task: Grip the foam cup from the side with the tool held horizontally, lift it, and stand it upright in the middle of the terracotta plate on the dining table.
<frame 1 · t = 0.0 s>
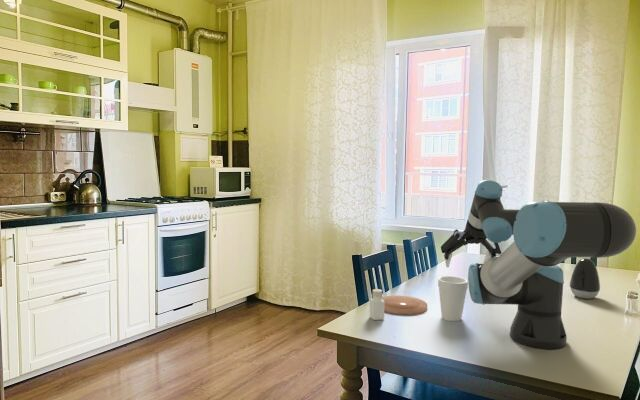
hand: (466, 264, 165), 15 cm above the table, tool tilted 35°, fingers open, 13 cm apart
foam cup: (451, 318, 155), on the table
dark grey egg shape: (583, 297, 181), on the table
terracotta plate: (401, 306, 166), on the table
pepper shaker: (376, 319, 154), on the table
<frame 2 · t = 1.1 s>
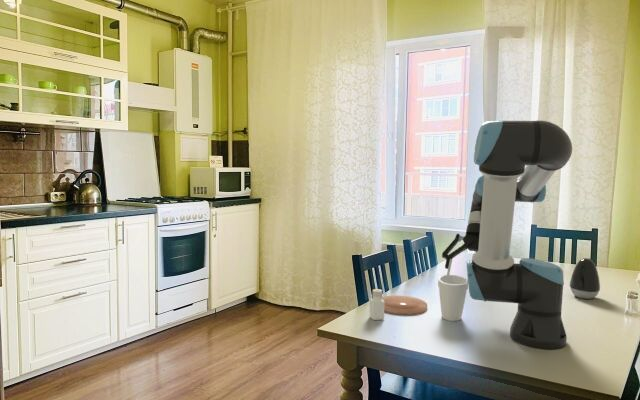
hand: (467, 282, 157), 11 cm above the table, tool tilted 35°, fingers open, 13 cm apart
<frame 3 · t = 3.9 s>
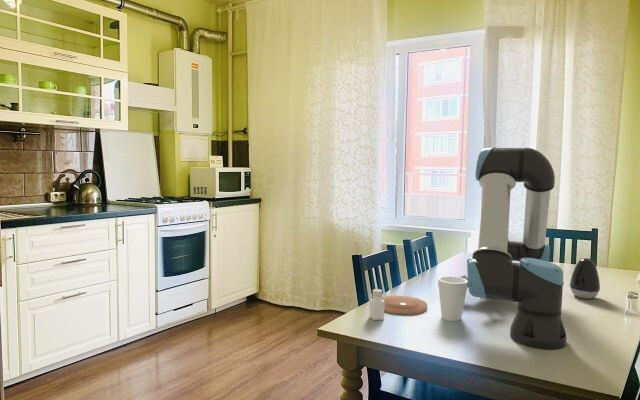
hand: (461, 291, 160), 7 cm above the table, tool horizontal, fingers open, 13 cm apart
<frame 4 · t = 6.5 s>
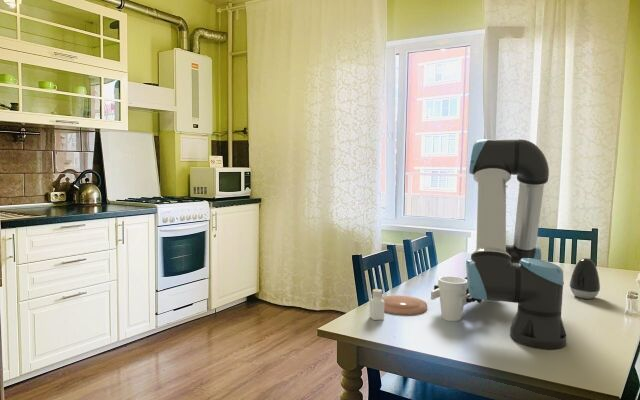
hand: (446, 298, 151), 8 cm above the table, tool horizontal, fingers closed on foam cup, 9 cm apart
foam cup: (451, 318, 155), on the table, touching gripper
everything else where it was.
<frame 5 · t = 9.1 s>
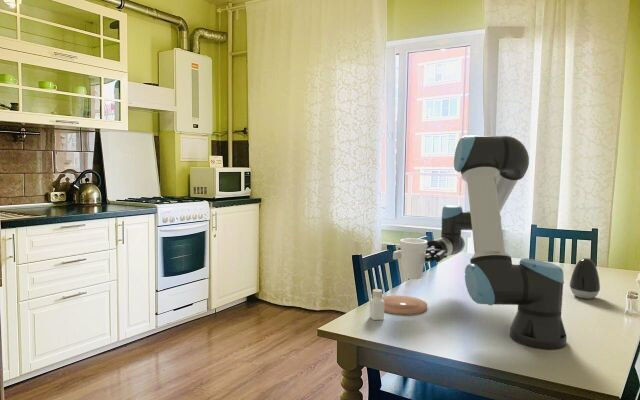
hand: (406, 258, 161), 18 cm above the table, tool horizontal, fingers closed on foam cup, 9 cm apart
foam cup: (412, 277, 165), point 11 cm above the table, touching gripper
everything else where it was.
when the fingers open (10 cm above the table, at t = 11.7 s): foam cup drops 2 cm, resting on terracotta plate.
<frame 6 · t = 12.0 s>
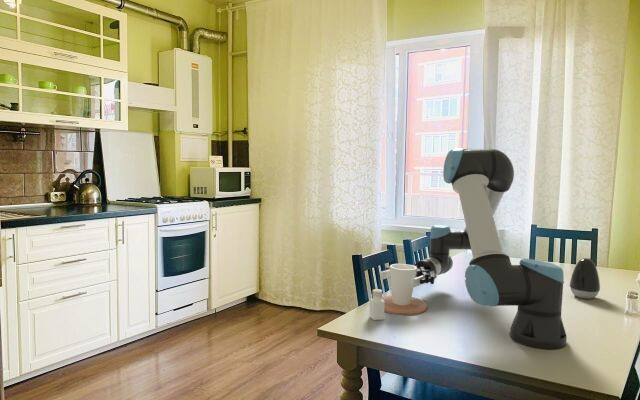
hand: (397, 279, 163), 10 cm above the table, tool horizontal, fingers open, 13 cm apart
foam cup: (401, 303, 166), point 1 cm above the table, touching terracotta plate
everything else where it was.
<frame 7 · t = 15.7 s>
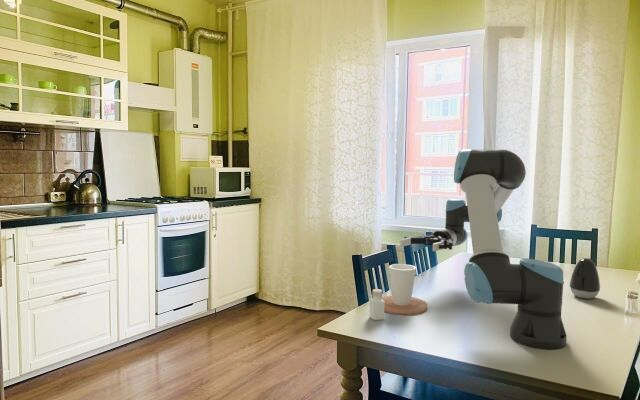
hand: (416, 245, 172), 21 cm above the table, tool horizontal, fingers open, 13 cm apart
nothing on the table moved.
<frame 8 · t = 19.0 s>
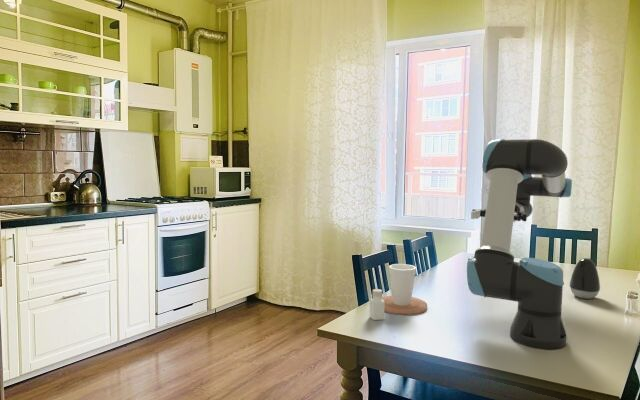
hand: (490, 217, 168), 32 cm above the table, tool horizontal, fingers open, 13 cm apart
nothing on the table moved.
at the end: foam cup inside the target area on the terracotta plate (0.1 cm from its centre), point 1.1 cm above the terracotta plate's base; foam cup tilted 0°; the gripper is holding nothing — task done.
